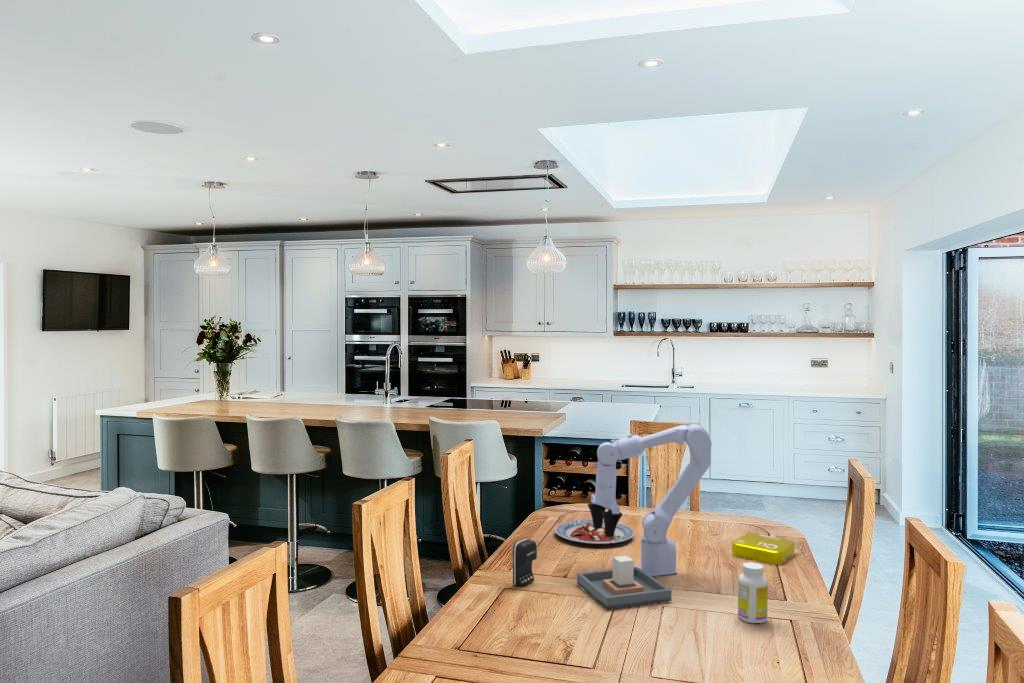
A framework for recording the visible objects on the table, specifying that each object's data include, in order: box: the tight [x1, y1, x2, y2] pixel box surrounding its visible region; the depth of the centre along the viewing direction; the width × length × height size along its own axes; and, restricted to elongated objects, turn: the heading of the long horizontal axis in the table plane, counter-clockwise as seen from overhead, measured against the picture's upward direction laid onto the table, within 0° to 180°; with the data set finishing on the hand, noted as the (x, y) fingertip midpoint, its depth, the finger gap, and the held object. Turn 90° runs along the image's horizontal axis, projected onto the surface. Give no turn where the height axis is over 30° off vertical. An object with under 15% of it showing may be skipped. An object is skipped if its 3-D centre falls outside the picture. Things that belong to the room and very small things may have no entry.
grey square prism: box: [612, 555, 635, 588], centre depth 186 cm, size 4×4×8 cm
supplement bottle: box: [737, 562, 769, 624], centre depth 171 cm, size 7×7×13 cm
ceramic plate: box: [554, 519, 635, 545], centre depth 235 cm, size 26×26×3 cm
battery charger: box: [512, 538, 538, 587], centre depth 193 cm, size 7×4×11 cm, turn 143°
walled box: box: [576, 566, 672, 611], centre depth 186 cm, size 18×18×3 cm
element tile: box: [731, 532, 795, 566], centre depth 219 cm, size 15×15×5 cm
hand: (603, 532), depth 205 cm, fingers open, 7 cm apart
